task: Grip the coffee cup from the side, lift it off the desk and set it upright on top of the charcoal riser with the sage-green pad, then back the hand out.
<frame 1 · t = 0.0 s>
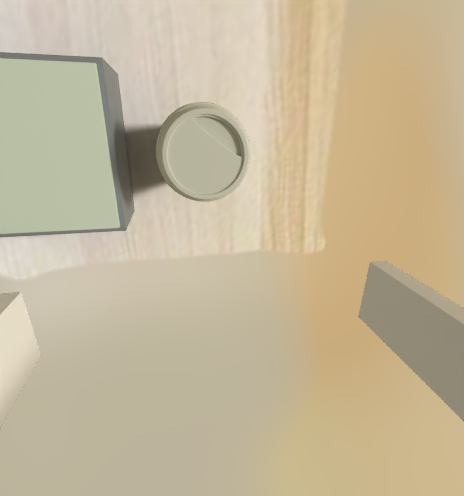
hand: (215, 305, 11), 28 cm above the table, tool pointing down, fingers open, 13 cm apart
riser: (56, 148, 32), on the table
coffee cup: (195, 147, 35), on the table
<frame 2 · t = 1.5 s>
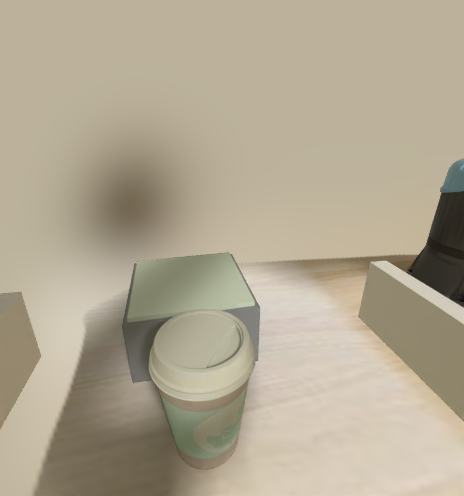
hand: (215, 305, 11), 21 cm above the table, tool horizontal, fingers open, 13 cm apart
riser: (192, 331, 41), on the table
coffee cup: (207, 437, 27), on the table
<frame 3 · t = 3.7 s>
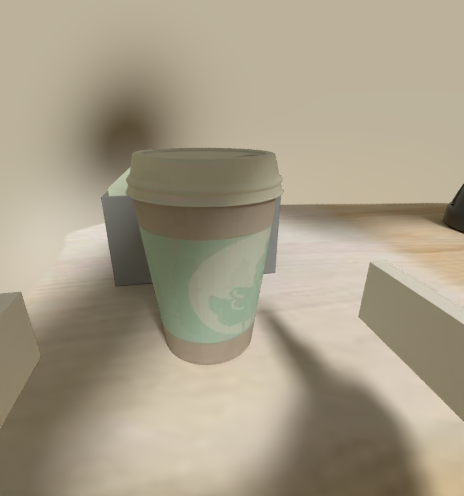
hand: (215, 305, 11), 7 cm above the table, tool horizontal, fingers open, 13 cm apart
riser: (193, 248, 34), on the table
coffee cup: (209, 336, 20), on the table
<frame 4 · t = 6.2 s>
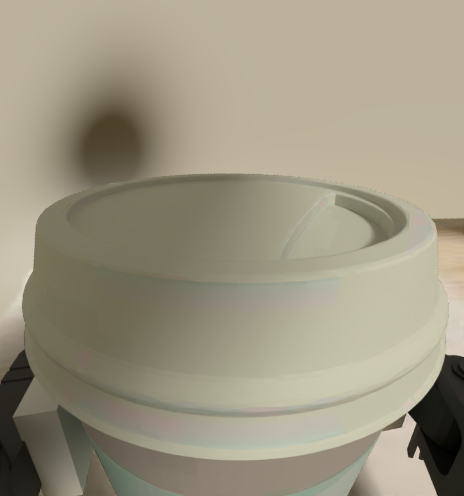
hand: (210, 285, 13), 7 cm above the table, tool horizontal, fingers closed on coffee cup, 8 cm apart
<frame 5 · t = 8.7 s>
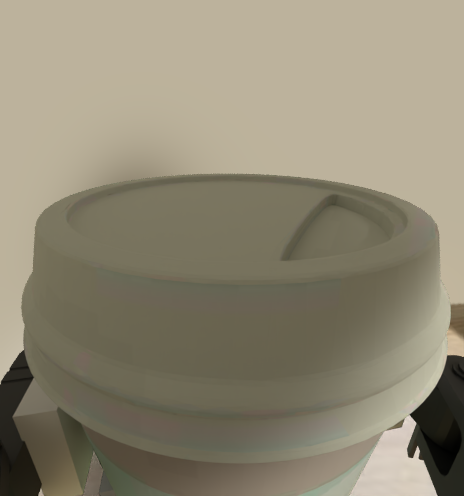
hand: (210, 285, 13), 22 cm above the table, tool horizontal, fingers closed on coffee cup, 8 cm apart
when the fingers open (17 cm above the table, at t = 11.2 s): coffee cup drops 1 cm, resting on riser.
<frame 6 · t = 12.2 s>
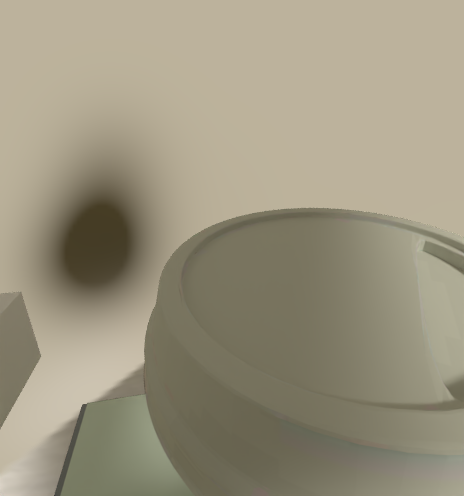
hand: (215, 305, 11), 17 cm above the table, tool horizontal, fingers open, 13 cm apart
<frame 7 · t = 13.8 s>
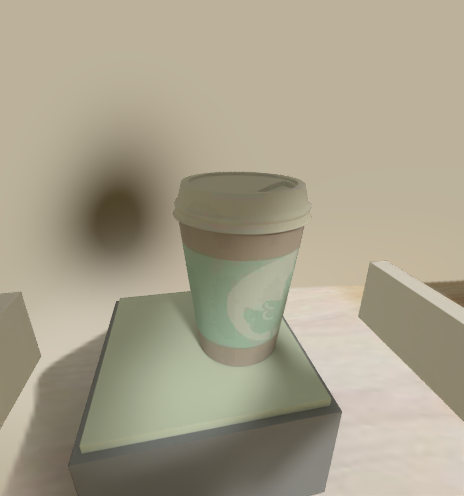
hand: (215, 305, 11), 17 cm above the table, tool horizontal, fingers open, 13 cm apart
riser: (205, 415, 26), on the table
coffee cup: (237, 340, 22), point 8 cm above the table, touching riser
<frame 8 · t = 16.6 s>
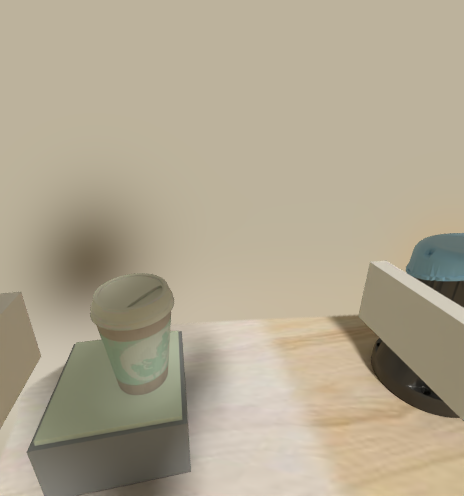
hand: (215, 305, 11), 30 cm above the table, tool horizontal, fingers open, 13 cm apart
riser: (130, 422, 38), on the table
coffee cup: (143, 376, 35), point 8 cm above the table, touching riser
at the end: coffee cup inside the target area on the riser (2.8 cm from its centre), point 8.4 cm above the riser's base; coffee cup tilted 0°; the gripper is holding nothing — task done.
